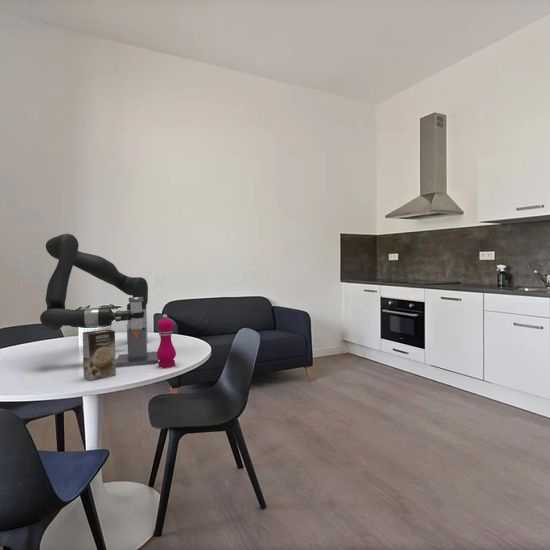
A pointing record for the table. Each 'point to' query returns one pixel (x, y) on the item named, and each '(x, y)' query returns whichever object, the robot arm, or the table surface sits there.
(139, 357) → the stand
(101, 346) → the coffee box
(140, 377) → the table surface
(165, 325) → the pepper mill
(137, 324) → the post
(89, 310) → the robot arm
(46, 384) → the table surface
